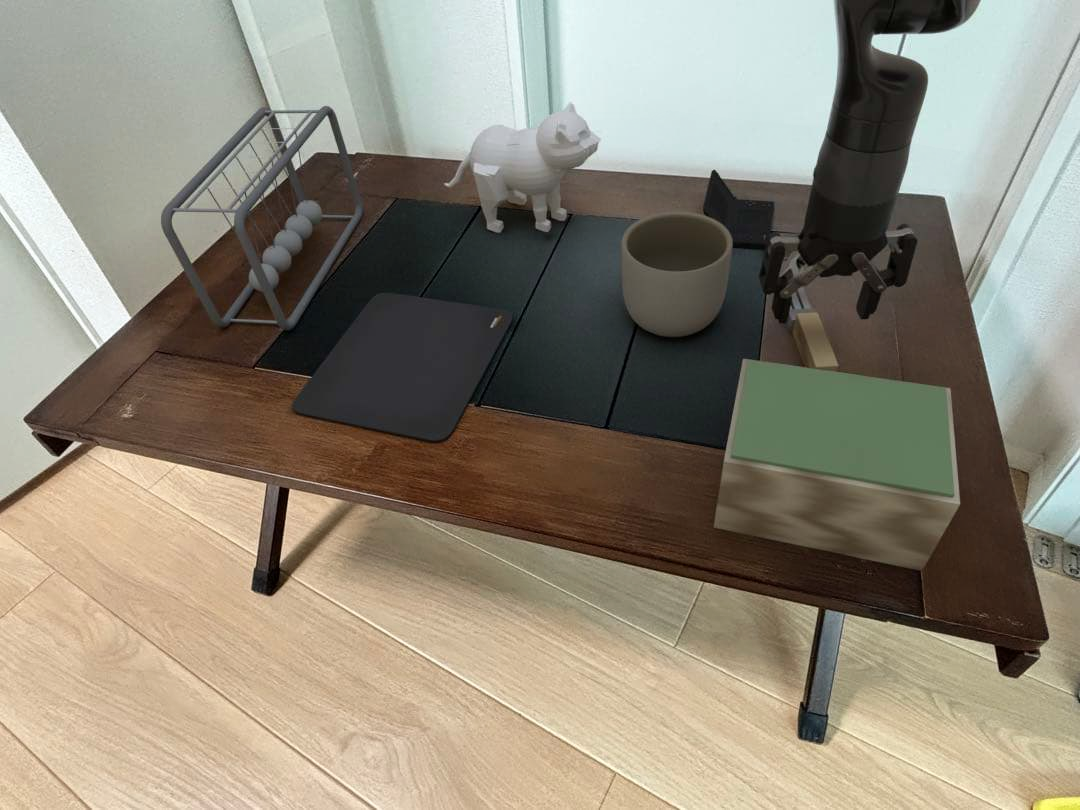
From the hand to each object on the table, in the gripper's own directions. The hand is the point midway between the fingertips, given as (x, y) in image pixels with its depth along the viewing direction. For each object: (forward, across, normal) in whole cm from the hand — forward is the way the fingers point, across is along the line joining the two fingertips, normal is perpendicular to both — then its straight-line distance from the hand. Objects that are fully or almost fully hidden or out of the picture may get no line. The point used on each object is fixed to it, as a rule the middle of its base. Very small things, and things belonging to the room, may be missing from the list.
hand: (821, 316), depth 78 cm
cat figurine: (+6, -34, +33) cm, 48 cm away
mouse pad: (+6, -47, +3) cm, 48 cm away
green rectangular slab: (-4, -4, -19) cm, 20 cm away
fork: (+6, 0, +3) cm, 7 cm away
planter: (+6, -15, +9) cm, 18 cm away
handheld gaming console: (+6, -4, +28) cm, 29 cm away
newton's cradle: (+6, -67, +24) cm, 71 cm away
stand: (+6, -4, -19) cm, 20 cm away
